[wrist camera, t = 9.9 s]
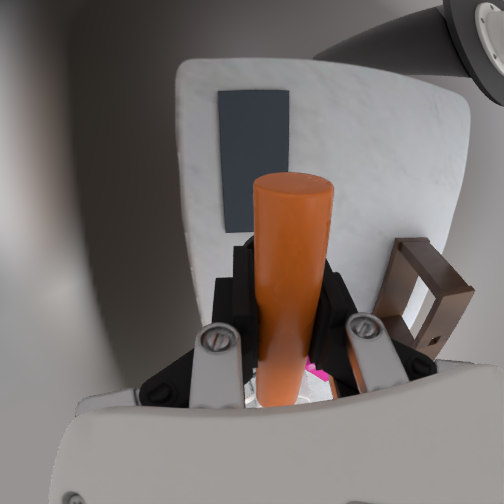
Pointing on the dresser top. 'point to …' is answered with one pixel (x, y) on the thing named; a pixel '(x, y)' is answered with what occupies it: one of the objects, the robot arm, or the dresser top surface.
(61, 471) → the robot arm
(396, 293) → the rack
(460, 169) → the dresser top surface
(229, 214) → the mat
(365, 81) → the dresser top surface
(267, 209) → the T-handle
